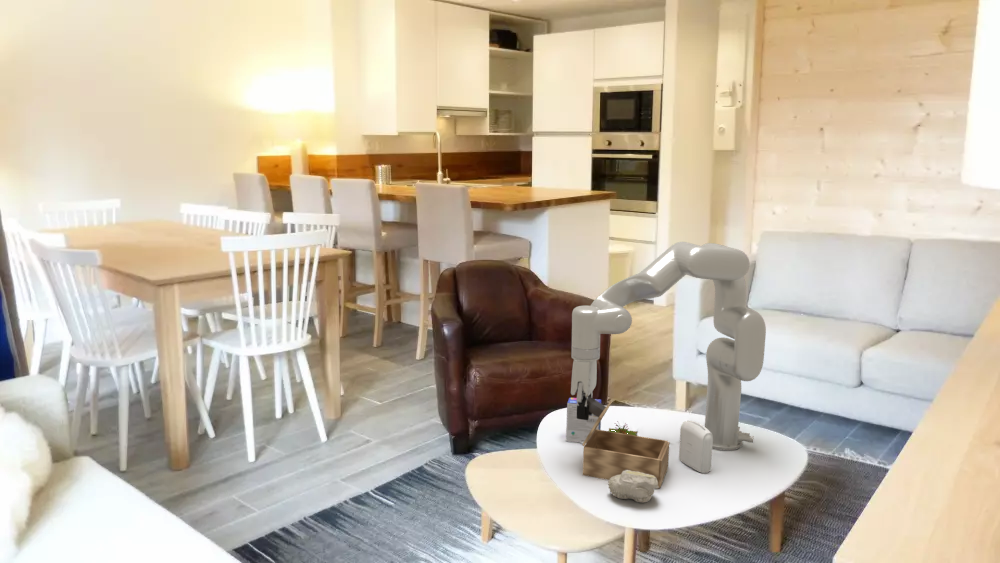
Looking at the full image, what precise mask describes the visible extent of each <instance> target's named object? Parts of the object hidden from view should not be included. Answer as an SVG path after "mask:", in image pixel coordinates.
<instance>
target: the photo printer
mask: <svg viewBox="0 0 1000 563" xmlns="http://www.w3.org/2000/svg"><path fill="white" fill-rule="evenodd" d="M680 425H681V426H680V428H679V429H680V434H679V450H678V452H679V453H678V460H679V461H680V462H681V463H683V464H685V465H686V466H688V467H690V468H691V469H693V470H695V471H696V472H699V473H701V474H707V473H709V472H710V471H711V470H712V461H713V459H712V458H713V448H712V446H713V435H712V433H711V432H710V431H709V430H708V429H707V428H706V427H705V425H703V424H701V423H700V422H697V421H695V420H686V421H683V422H682V424H680Z"/></svg>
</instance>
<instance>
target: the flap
mask: <svg viewBox="0 0 1000 563" xmlns="http://www.w3.org/2000/svg"><path fill="white" fill-rule="evenodd" d="M583 394H585V393H583ZM582 398H583V399H584V400H585V398H584V397H582ZM595 399H596V398H593V396H592V397H590V396H588V406H589V412H591V413H592V414H594V415H595V416H597V417H599V418H598V419H597V421H596V423H595V424H594V426H593V428H592V429H591V431H590V433H589V434H588V436H587V438H586V439H585V441H584V443H581V444H582V446H583V447H584V446H585V445H586V443H587V441H588V440H589V438H590V437H591V435H592V434H593V432H594V431H595V430H596V428H597V426H598V425H599V423H600V421H601V422H602V419H603V418H604V417H605V414H606V413H607V411H608V410H609V408H610V407H611V405H612V403H613V401H612V400H610V401H609V402H608V403H607V404H606V406H605V405H604V404H603V403H602V402H601V403H599V402H598V401H596V400H595Z"/></svg>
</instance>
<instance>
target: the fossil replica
mask: <svg viewBox="0 0 1000 563" xmlns="http://www.w3.org/2000/svg"><path fill="white" fill-rule="evenodd" d="M607 485H608V489H609V492H610V493H611V495H612V496H614V497H615V498H618V499H622V500H629V499H631V500H633V501H635V502H637V503H639V504H640V503H646V502H647V503H648V502H649V501H650V500H651V499H652V496H653V495H654V493H655V490H658V489H660V488H659V486H658V481H657V478H656V477H655V476H653V475H649V474H645V473H641V472H635V471H631V470H625V471H623V472H622V474H620V475H616V476H614V477H611V478H610V479H609V480H608V484H607ZM657 488H658V489H657Z"/></svg>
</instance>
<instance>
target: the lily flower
mask: <svg viewBox="0 0 1000 563" xmlns="http://www.w3.org/2000/svg"><path fill="white" fill-rule="evenodd" d="M616 422H617V423H616ZM616 422H614V424H615V426H616V427H614V428H611V427H609V428H608V431H610V432H615V431H616V433H622V434H627V433H628V434H629V435H635V436H638V435H637V433H638V431H636V430H635V431H634V430H630V428H629V427H628V424H627V422H625V423H624V425H623V426H620V425H619V424H618V423H619V421H616ZM617 427H618V428H617ZM611 430H615V431H611Z"/></svg>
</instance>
